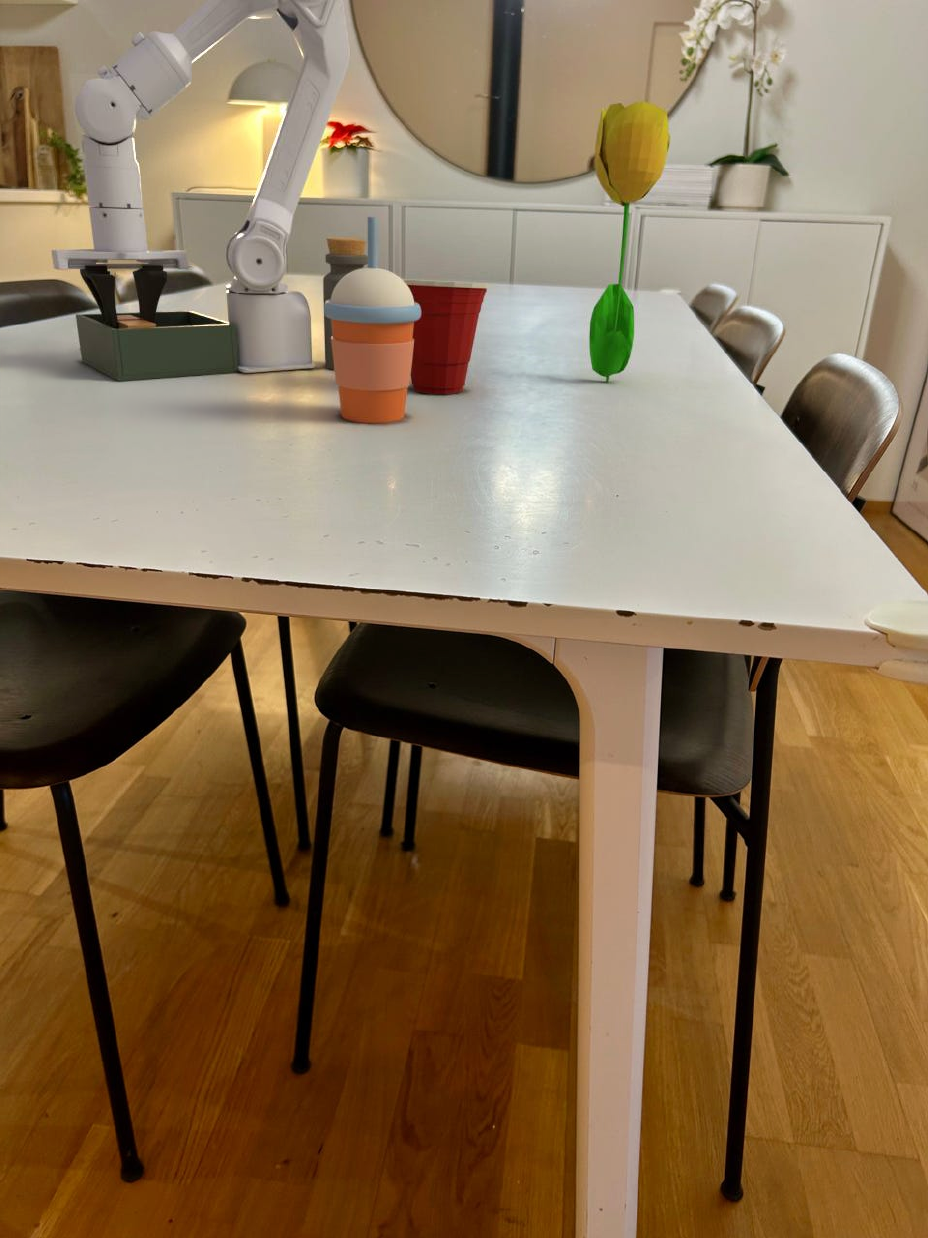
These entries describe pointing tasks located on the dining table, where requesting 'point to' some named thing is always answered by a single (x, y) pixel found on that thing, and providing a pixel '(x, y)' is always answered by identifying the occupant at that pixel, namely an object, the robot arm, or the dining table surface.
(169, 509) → the dining table surface
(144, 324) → the grooved wooden block
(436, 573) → the dining table surface
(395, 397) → the cup with straw
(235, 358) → the bin
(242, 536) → the dining table surface
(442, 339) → the plastic cup
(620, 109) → the flower
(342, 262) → the bottle
